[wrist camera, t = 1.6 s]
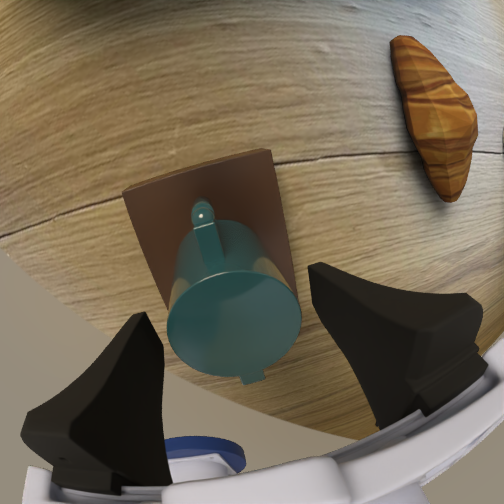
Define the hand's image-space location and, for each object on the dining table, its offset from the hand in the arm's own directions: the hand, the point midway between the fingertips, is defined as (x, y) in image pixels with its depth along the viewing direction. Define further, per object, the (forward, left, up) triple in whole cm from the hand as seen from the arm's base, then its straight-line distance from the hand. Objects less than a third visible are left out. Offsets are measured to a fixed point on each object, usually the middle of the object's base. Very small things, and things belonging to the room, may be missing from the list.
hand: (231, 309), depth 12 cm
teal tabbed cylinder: (0, 0, -4) cm, 4 cm away
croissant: (+17, +6, -7) cm, 19 cm away
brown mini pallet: (0, 0, -6) cm, 6 cm away
